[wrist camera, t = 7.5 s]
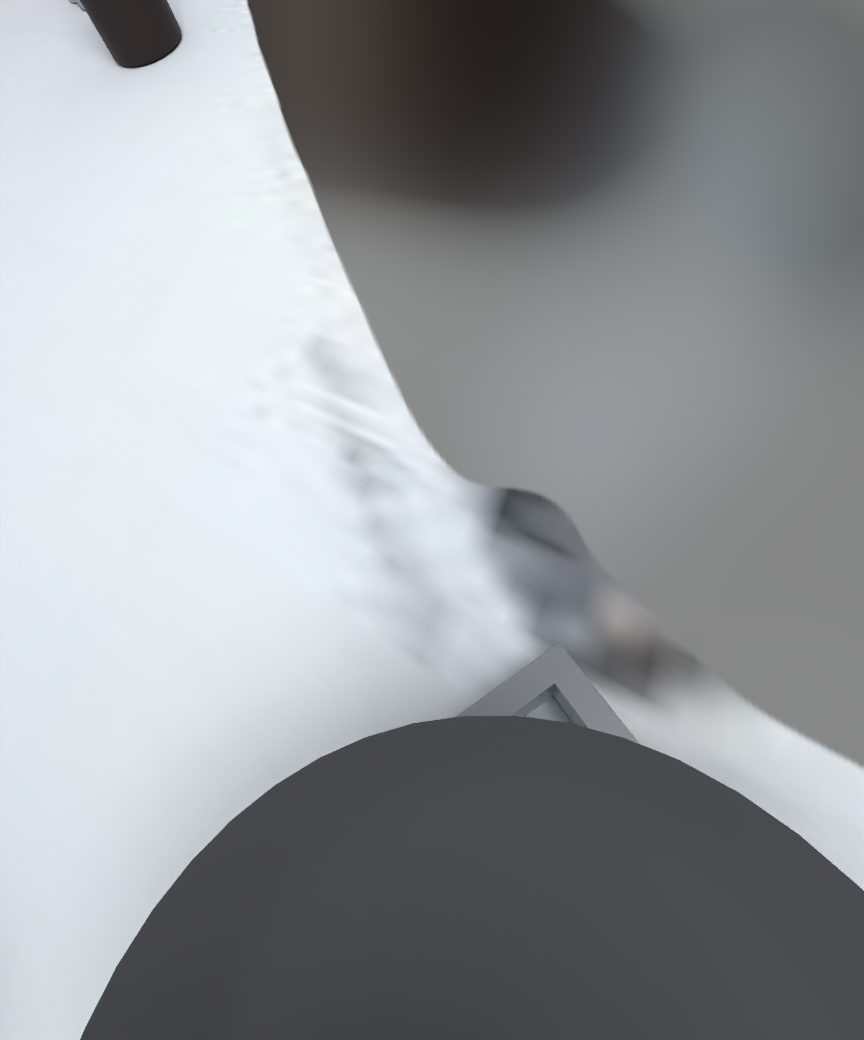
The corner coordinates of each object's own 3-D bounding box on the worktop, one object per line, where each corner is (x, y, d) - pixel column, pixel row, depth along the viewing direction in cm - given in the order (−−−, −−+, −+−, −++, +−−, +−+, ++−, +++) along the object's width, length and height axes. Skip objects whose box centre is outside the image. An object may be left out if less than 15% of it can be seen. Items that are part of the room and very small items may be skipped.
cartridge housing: (499, 1154, 16) (492, 1226, 14) (337, 818, 21) (308, 824, 18) (767, 931, 17) (808, 958, 15) (556, 659, 22) (559, 642, 19)
